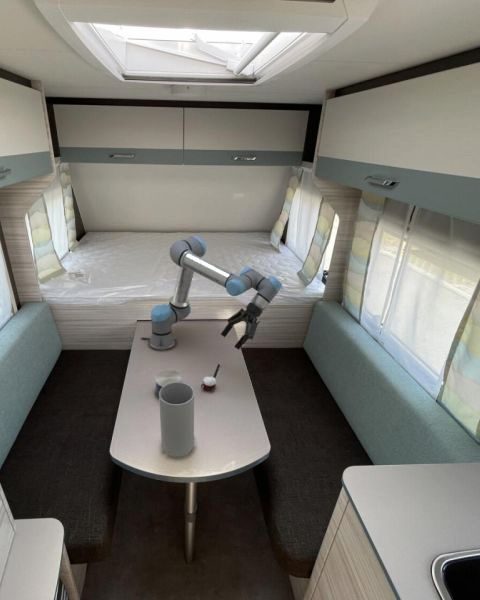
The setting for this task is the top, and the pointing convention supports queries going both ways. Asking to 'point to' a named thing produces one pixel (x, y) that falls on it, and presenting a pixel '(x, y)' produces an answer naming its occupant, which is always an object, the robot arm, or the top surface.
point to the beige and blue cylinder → (166, 379)
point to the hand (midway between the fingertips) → (229, 341)
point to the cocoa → (210, 381)
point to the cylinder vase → (177, 418)
